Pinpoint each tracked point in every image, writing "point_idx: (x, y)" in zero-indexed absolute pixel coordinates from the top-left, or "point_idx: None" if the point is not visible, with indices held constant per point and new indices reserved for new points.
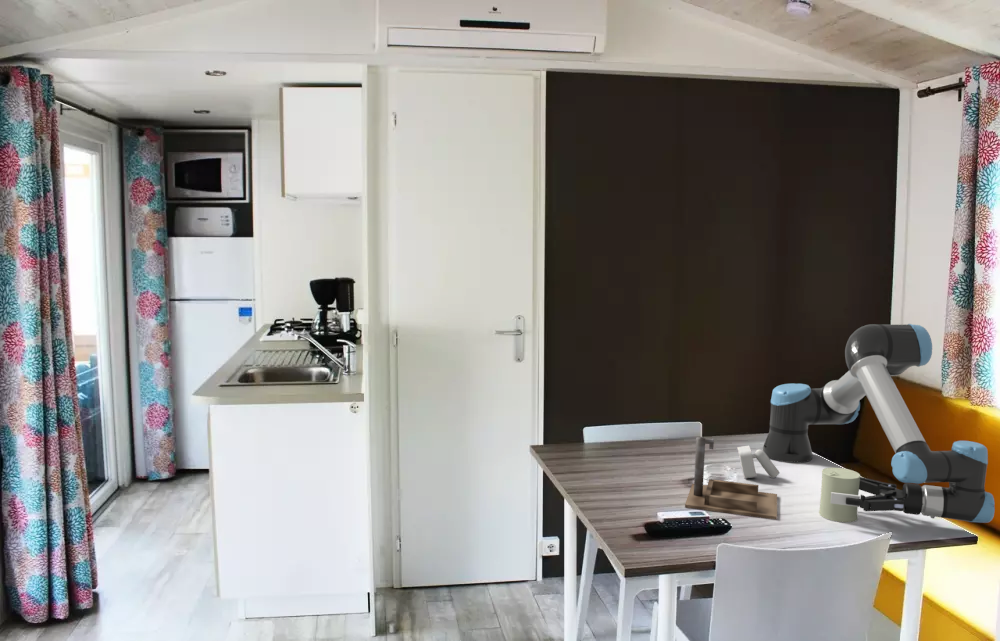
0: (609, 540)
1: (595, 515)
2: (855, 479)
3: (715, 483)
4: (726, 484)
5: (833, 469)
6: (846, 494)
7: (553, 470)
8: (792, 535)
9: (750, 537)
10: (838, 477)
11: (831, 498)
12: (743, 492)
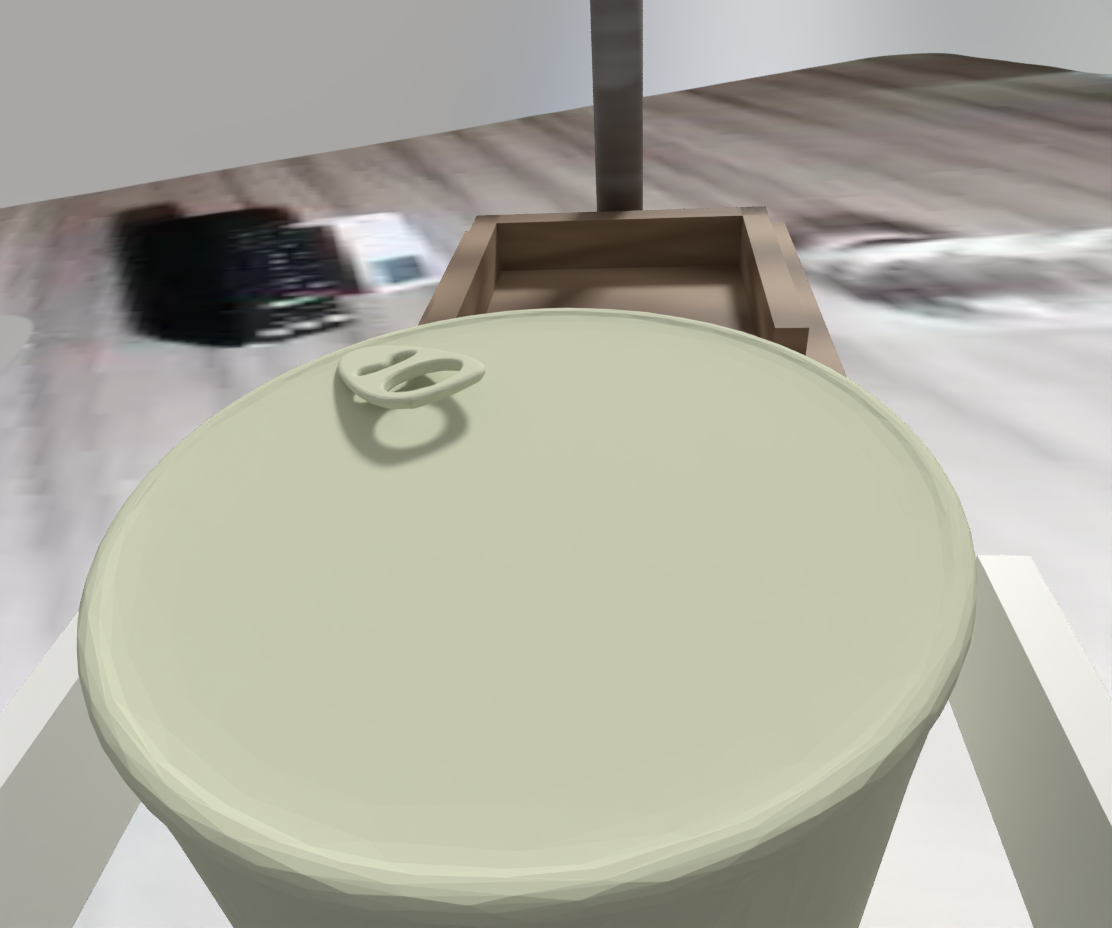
0: (131, 187)
1: (338, 155)
2: (107, 736)
3: (742, 233)
4: (749, 254)
5: (758, 409)
6: (11, 719)
7: (710, 85)
8: (50, 549)
9: (71, 400)
10: (208, 441)
11: None
12: (758, 336)
